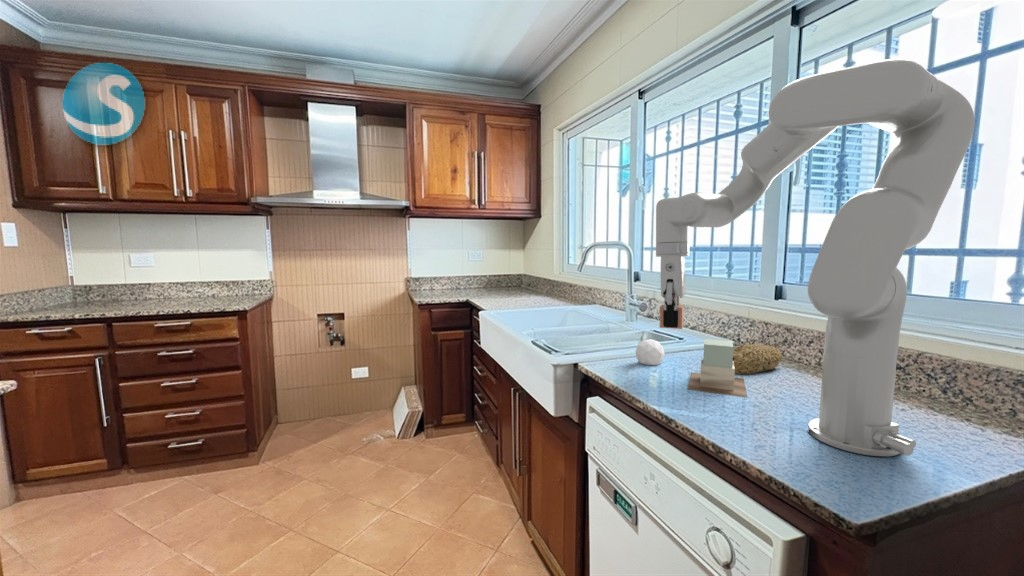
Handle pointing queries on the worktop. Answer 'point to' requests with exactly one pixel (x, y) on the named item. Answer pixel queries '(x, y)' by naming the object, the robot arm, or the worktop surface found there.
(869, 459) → the worktop surface
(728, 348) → the tower middle block
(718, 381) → the tower base block
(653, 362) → the ball
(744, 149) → the robot arm
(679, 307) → the terracotta block
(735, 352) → the sponge
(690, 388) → the walnut board
